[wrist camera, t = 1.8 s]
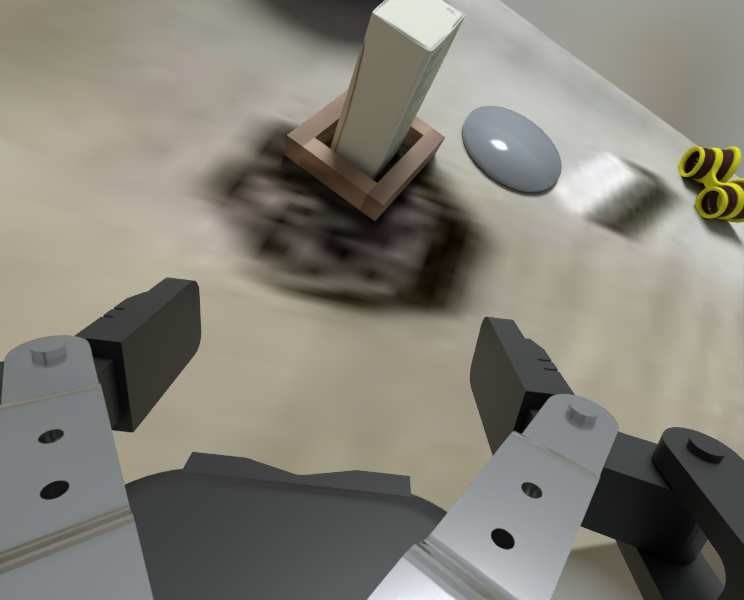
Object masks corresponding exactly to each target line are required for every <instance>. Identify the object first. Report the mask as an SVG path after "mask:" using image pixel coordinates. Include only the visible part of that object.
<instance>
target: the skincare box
mask: <svg viewBox="0 0 744 600" xmlns="http://www.w3.org/2000/svg"><path fill="white" fill-rule="evenodd" d="M464 17H465V13H463V12H461V11H460V10H458V9H457V8H455V7H454V6H452V5H451V4H449V3H448V2H446V1H445V0H385V1H384V2H383V3H382V4H380V5H379V6H378V7H377V8H376V9H375V10H374V11H373V12H372V15H371V18H370V21H369V24H368V27H367V31H366V34H365V38H364V41H363V44H362V47H361V50H360V53H359V57H358V60H357V63H356V66H355V70H354V73H353V76H352V79H351V82H350V86H349V89H348V92H347V95H346V98H345V101H344V105H343V108H342V111H341V114H340V118H339V121H338V124H337V127H336V131H335V134H334V137H333V141H332V144H331V147H330V149H331V150H332V151H334V152H335V153H337V154H338V155H339V156H341V157H342V158H343V159H345V160H346V161H348V162H349V163H350V164H352V165H353V166H354V167H356V168H357V169H359V170H360V171H361V172H363V173H364V174H365V175H367V176H368V177H370V178H371V179H372V180H374V179H375V178H376V177H377V176H378V175H379V174H380V172H381V171H382V170H383V169H384V168H385V166H386V165H387V164H388V163H389V161H390V160H391V159H392V158H393V156H394V155H395V154H396V152H397V151H398V150H399V148H400V147H401V145H402V143H403V141H404V138H405V136H406V134H407V132H408V130H409V128H410V126H411V124H412V122H413V120H414V118H415V116H416V114H417V112H418V110H419V108H420V106H421V104H422V102H423V100H424V98H425V96H426V94H427V92H428V90H429V88H430V86H431V84H432V82H433V80H434V78H435V76H436V74H437V72H438V70H439V68H440V66H441V64H442V62H443V60H444V58H445V56H446V54H447V52H448V50H449V48H450V46H451V44H452V41H453V39H454V37H455V35H456V33H457V31H458V29H459V27H460V25H461V23H462V21H463V19H464Z"/></svg>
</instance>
